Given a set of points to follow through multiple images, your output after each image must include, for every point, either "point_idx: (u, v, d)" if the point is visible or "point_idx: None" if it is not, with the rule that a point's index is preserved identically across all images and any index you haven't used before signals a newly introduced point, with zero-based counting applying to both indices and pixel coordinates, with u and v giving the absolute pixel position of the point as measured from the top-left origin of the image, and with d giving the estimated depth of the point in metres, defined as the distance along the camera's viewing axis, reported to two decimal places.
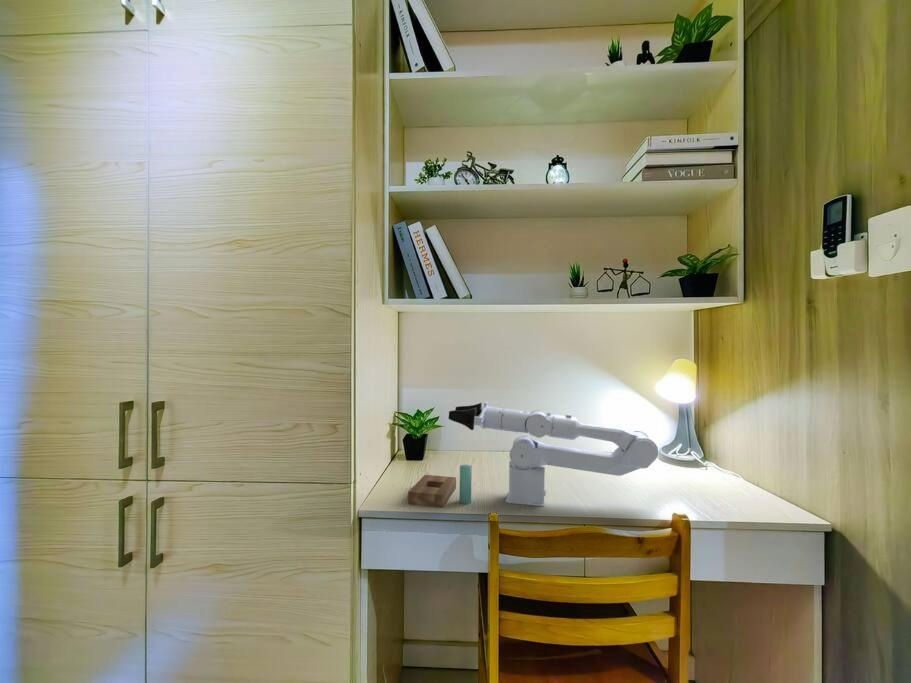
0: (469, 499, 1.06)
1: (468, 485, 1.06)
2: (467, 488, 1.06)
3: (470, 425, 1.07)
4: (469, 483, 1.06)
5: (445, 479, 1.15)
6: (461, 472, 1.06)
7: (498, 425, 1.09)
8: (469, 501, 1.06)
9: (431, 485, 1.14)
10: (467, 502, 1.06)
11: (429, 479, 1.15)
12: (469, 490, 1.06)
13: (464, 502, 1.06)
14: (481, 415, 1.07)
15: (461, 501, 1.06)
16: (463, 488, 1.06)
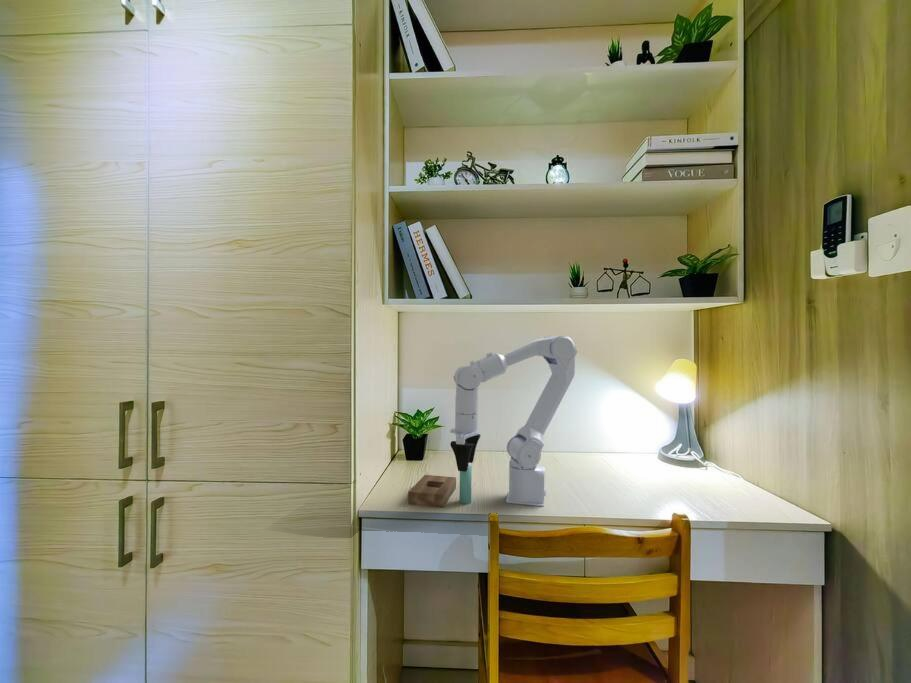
0: (469, 499, 1.06)
1: (468, 485, 1.06)
2: (467, 488, 1.06)
3: (467, 447, 1.01)
4: (469, 483, 1.06)
5: (445, 479, 1.15)
6: (461, 472, 1.06)
7: (469, 417, 1.04)
8: (469, 501, 1.06)
9: (431, 485, 1.14)
10: (467, 502, 1.06)
11: (429, 479, 1.15)
12: (469, 490, 1.06)
13: (464, 502, 1.06)
14: (456, 436, 1.02)
15: (461, 501, 1.06)
16: (463, 488, 1.06)
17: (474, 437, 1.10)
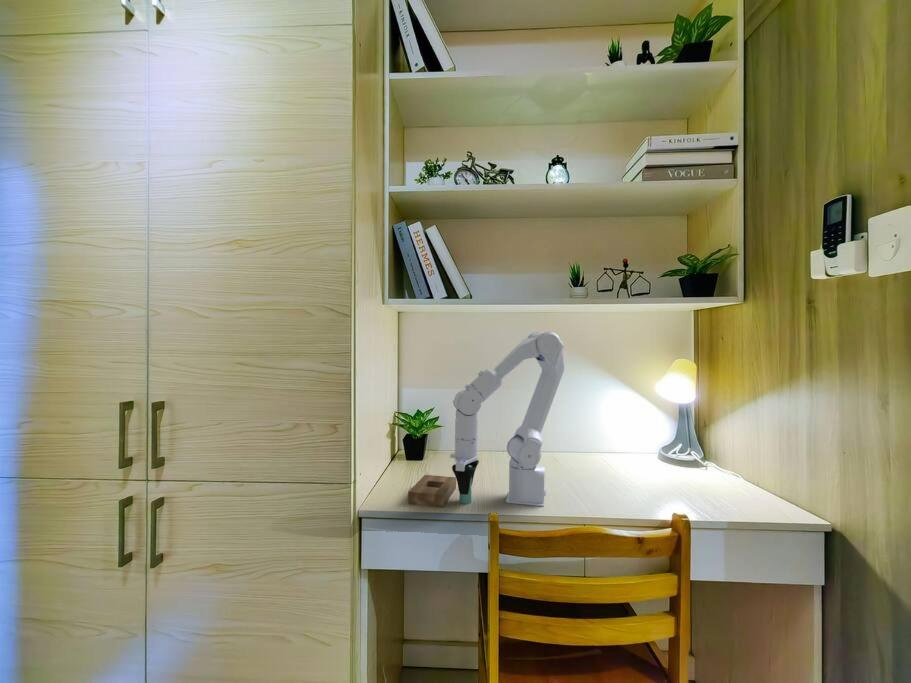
0: (469, 499, 1.06)
1: None
2: None
3: (468, 471, 1.03)
4: None
5: (445, 479, 1.15)
6: None
7: (469, 443, 1.04)
8: (469, 501, 1.06)
9: (431, 485, 1.14)
10: (467, 502, 1.06)
11: (429, 479, 1.15)
12: (469, 490, 1.06)
13: (464, 502, 1.06)
14: (456, 462, 1.02)
15: (461, 501, 1.06)
16: None
17: (472, 463, 1.08)
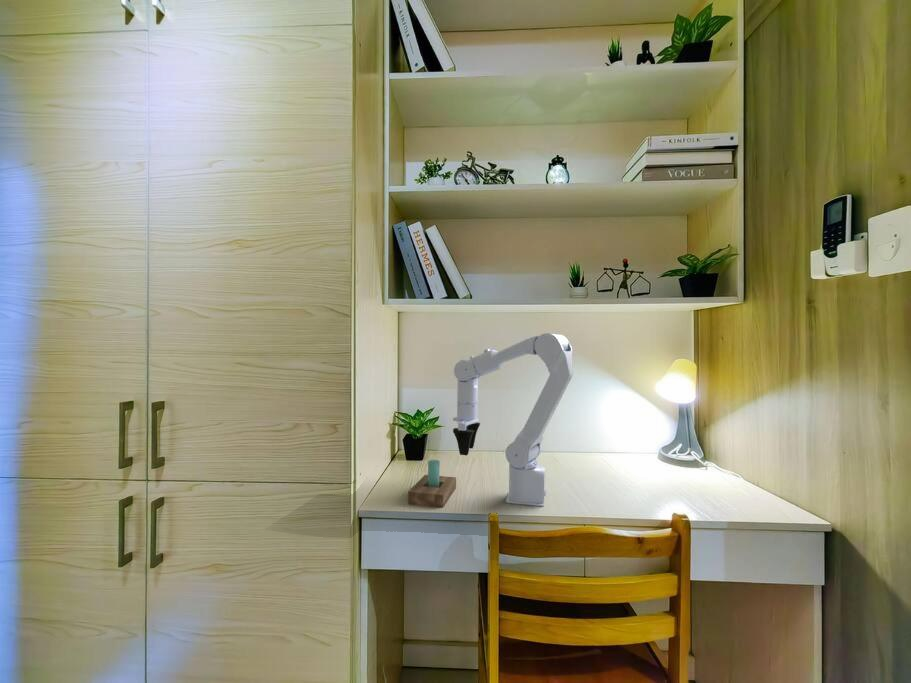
0: None
1: (436, 479, 1.10)
2: (434, 482, 1.10)
3: (468, 433, 1.12)
4: (437, 477, 1.10)
5: (445, 479, 1.15)
6: (429, 467, 1.10)
7: (470, 406, 1.16)
8: None
9: None
10: None
11: None
12: (437, 484, 1.10)
13: None
14: (458, 423, 1.13)
15: None
16: (431, 482, 1.10)
17: (474, 425, 1.22)
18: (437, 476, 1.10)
